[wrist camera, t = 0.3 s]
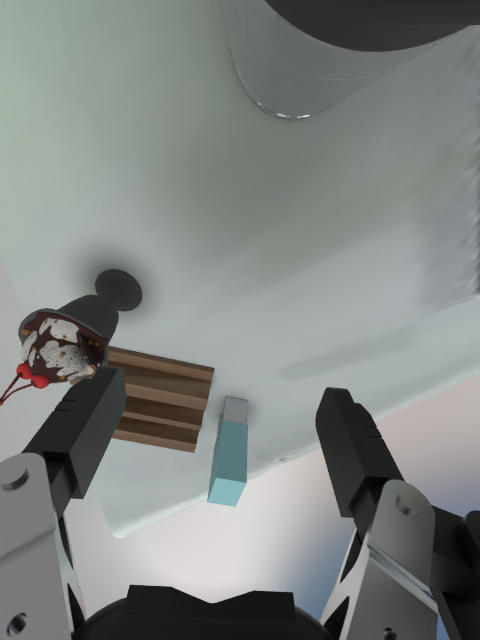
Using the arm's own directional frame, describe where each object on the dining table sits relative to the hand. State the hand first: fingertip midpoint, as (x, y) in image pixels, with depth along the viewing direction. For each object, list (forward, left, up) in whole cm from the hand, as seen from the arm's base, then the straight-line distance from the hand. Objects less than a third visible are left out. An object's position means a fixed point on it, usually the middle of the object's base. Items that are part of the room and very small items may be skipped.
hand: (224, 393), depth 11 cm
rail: (+23, -8, -19) cm, 30 cm away
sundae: (+8, -12, -19) cm, 23 cm away
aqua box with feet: (+23, +4, -19) cm, 30 cm away
